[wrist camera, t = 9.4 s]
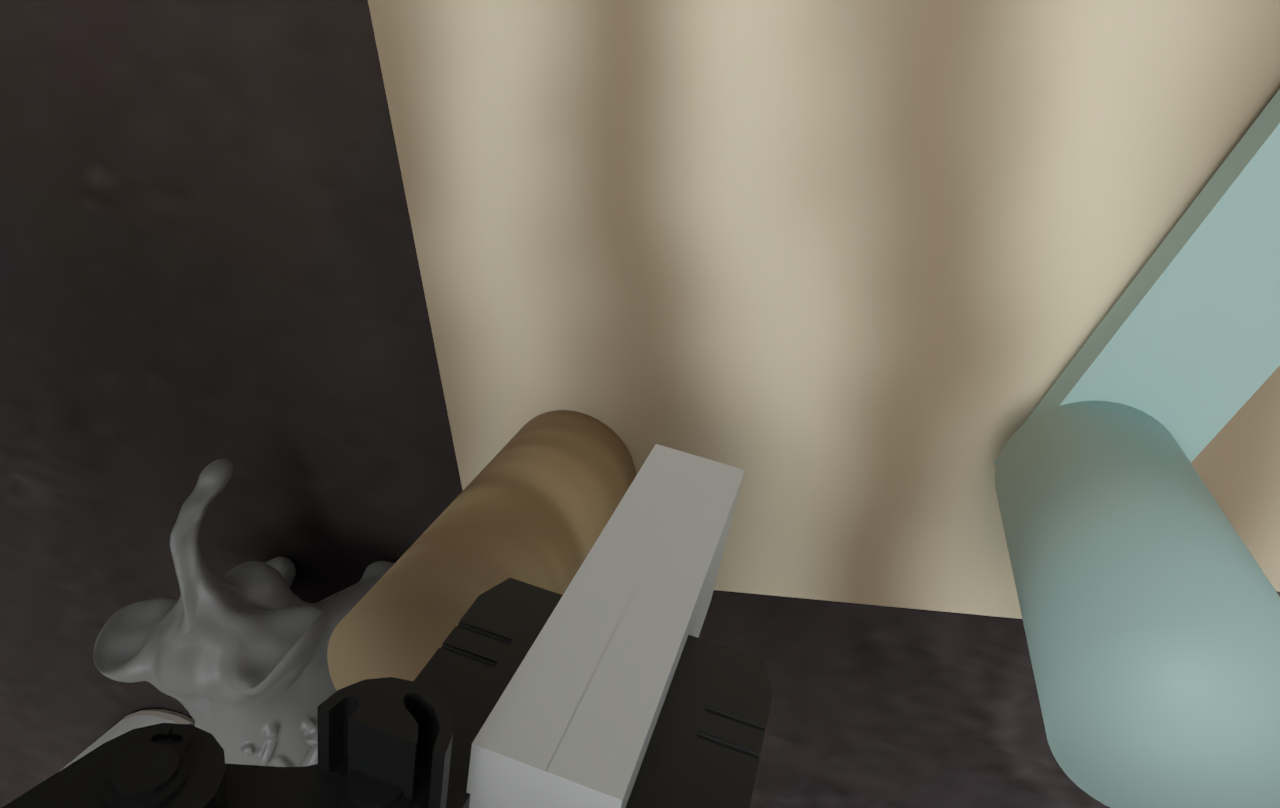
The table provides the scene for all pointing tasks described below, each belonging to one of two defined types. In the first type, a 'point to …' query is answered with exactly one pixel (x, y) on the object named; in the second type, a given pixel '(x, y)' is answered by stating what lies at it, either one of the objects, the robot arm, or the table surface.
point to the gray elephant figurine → (234, 643)
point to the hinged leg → (1158, 518)
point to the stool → (788, 272)
